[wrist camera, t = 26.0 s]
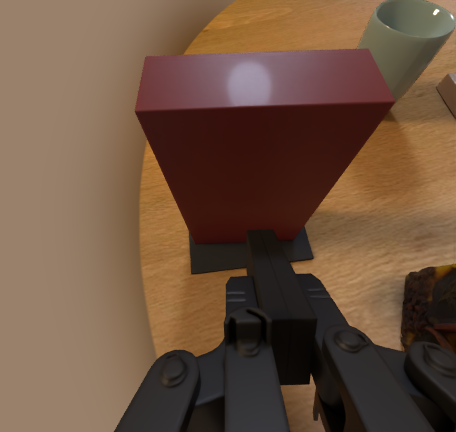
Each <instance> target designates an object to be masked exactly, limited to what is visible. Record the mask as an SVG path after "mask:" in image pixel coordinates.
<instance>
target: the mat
mask: <svg viewBox="0 0 456 432" xmlns="http://www.w3.org/2000/svg"><path fill="white" fill-rule="evenodd" d="M189 240H190V258H191V274H199V273H207V272H215V271H222V270H230V269H238V268H246V267H247V242H237V243H210V244H195V243H194V241H193V238H192V236H191V234H190V232H189ZM279 242H280V244H281V246H282V248H283V250H284V252H285V254H286V256H287V258H288V260H289V262H293V261H301V260H309V259H313V254H312V251H311V248H310V244H309V241H308V237H307V234H306V230H305V227H304V226H303V228H302V229H301V231H300V232H299V233H298V235H297V236H296V237H295V239H294V240H289V241H279Z"/></svg>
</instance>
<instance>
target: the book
mask: <svg viewBox="0 0 456 432" xmlns="http://www.w3.org/2000/svg"><path fill="white" fill-rule="evenodd" d="M394 104H395V99H394V97H393V95H392V93H391V91H390V89H389V88H388V86H387V84H386V82H385V80H384V78H383V76H382V74H381V72H380V70H379V68H378V66H377V64H376V62H375V60H374V58H373V56H372V54H371V52H370V50H369V49H339V50H311V51H283V52H255V53H226V54H198V55H171V56H147V57H145V62H144V67H143V72H142V77H141V82H140V87H139V92H138V97H137V102H136V107H135V113H136V115H137V117H138V120H139V122H140V124H141V126H142V129H143V131H144V133H145V135H146V137H147V140H148V142H149V144H150V146H151V148H152V150H153V153H154V155H155V157H156V159H157V161H158V164H159V166H160V168H161V170H162V172H163V175H164V177H165V179H166V181H167V183H168V186H169V188H170V190H171V192H172V194H173V197H174V199H175V201H176V203H177V205H178V208H179V210H180V212H181V214H182V216H183V219H184V221H185V223H186V225H187V227H188V230H189V232H190V234H191V236H192V238H193V241H194V243H195V244H210V243H237V242H247V230H269V229H273V230H274V232H275V234H276V236H277V238H278V240H279V241H289V240H294V239H295V237H296V236H297V235H298V233H299V232H300V231H301V229H302V228H303V226H304V225H305V224H306V222H307V221H308V220H309V218H310V217H311V216H312V214H313V213H314V212H315V210H316V209H317V208H318V206H319V205H320V203H321V202H322V201H323V199H324V198H325V197H326V195H327V194H328V193H329V191H330V190H331V189H332V187H333V186H334V185H335V183H336V182H337V181H338V179H339V178H340V176H341V175H342V174H343V172H344V171H345V170H346V168H347V167H348V166H349V164H350V163H351V162H352V160H353V159H354V158H355V156H356V155H357V154H358V152H359V151H360V149H361V148H362V147H363V145H364V144H365V143H366V141H367V140H368V139H369V137H370V136H371V135H372V133H373V132H374V131H375V129H376V128H377V126H378V125H379V124H380V122H381V121H382V120H383V118H384V117H385V116H386V114H387V113H388V112H389V110H390V109H391V108H392V106H393V105H394Z"/></svg>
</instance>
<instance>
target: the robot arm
mask: <svg viewBox="0 0 456 432" xmlns="http://www.w3.org/2000/svg"><path fill="white" fill-rule="evenodd" d="M224 336H225V337H224V339H223V341H222V343H221V344H220V345H219V346H218V347H217V348H215V349H214V350H213V351H211V352H208V353H206V354H203V355H200V356H198V357H195V356H194V355H193V354H192V353H190V352H188V351H186V350H173V351H170V352H167V353H165V354H164V355H162V356H161V357H159V358H158V359H157V360H156V361H155V363H154V364H153V365H152V366H151V368H150V370H149V371H148V373H147V375H146V377H145V378H144V380H143V382H142V383H141V386H140V387H139V389H138V391H137V392H136V394H135V396H134V397H133V399H132V401H131V403H130V405H129V406H128V408H127V410H126V411H125V413H124V415H123V417H122V418H121V420H120V422H119V424H118V425H117V427H116V429H115V431H114V432H290V429H289V424H288V419H287V415H286V410H285V406H284V401H283V396H282V392H281V387H280V385H304V384H310V376H311V374H312V377H313V380H314V382H315V385H316V392H315V399H314V406H313V418H314V421H318V414H320V417H321V420H322V423H323V426H324V429H325V432H456V354H455V353H453V352H451V351H450V350H448V349H446V348H444V347H442V346H439V345H437V344H434V343H430V342H425V341H419V342H414V343H412V344H410V345H409V348H408V351H407V352H403V351H398V350H394V349H390V348H385V347H382V346H378V345H375V344H373V342H372V341H371V340H370V339H369V338H368V337H367V336H366V335H365V334H364V333H363V332H361V331H360V330H358V329H356V328H354V327H351V326H349V324H348V323H347V321H346V319H345V318H344V316H343V315H342V313H341V312H340V310H339V309H338V307H337V306H336V304H335V302H334V301H333V299H332V298H331V297H330V295H329V293H328V292H327V291H326V288H325V287H324V285H323V284H322V282H321V281H320V280H319V279H318V278H316V277H315V276H314V275H312V274H311V273H310V274H295V272H294V270H293V268H292V266H291V264H290V262H289V260H288V258H287V256H286V254H285V252H284V250H283V248H282V246H281V244H280V242H279V240H278V238H277V236H276V234H275V232H274V230H273V229H269V230H247V276H241V277H230V279H229V280H228V282H227V283H226V317H225V321H224Z"/></svg>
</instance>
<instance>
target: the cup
mask: <svg viewBox="0 0 456 432" xmlns="http://www.w3.org/2000/svg"><path fill="white" fill-rule="evenodd" d="M455 26H456V19H455V17H454V16H453V15H452V14H451V13H450V12H449V11H447V10H446V9H444V8H443V7H441V6H439V5H436V4H434V3H431V2H428V1H425V0H386V1H384V2H382V3H381V4H380V5H379V6H377V8H376V9H375V11H374V12H373V14H372V16H371V17H370V20H369V22H368V24H367V26H366V28H365V30H364V32H363V35H362V37H361V39H360V41H359V43H358V46H357V48H356V49H369V50H370V52H371V54H372V56H373V58H374V60H375V62H376V64H377V66H378V68H379V70H380V72H381V74H382V76H383V78H384V80H385V82H386V84H387V86H388V88H389V89H390V91H391V93H392V95H393V97H394V99H395V103H396V102H397V101H398V100H399V99H400V98H401V97H402V96H403V95H404V94H405V93H406V92H407V91H408V90H409V89H410V87H411V86H412V85H413V84H414V83H415V81H416V80H417V79H418V78H419V77H420V75H421V74H422V73H423V72H424V70H425V69H426V68H427V66H428V65H429V64H430V62H431V61H432V60H433V59H434V57H435V56H436V55H437V53H438V52H439V51H440V49H441V48H442V47H443V45H444V44H445V43H446V41H447V40H448V39H449V37H450V36H451V34H452V33H453V31H454V29H455Z"/></svg>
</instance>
